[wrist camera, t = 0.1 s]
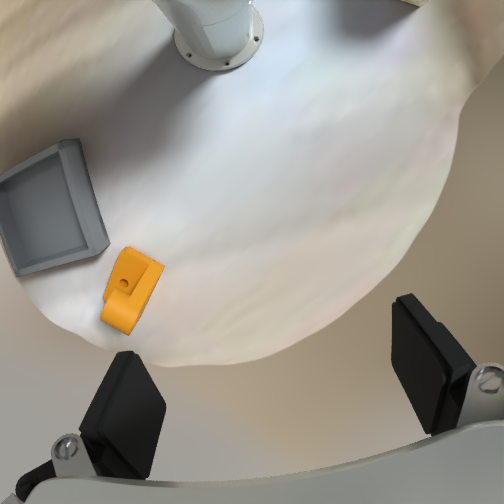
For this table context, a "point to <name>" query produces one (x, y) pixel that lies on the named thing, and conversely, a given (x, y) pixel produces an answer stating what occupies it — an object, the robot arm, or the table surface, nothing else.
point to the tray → (50, 210)
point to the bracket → (129, 289)
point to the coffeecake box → (417, 2)
